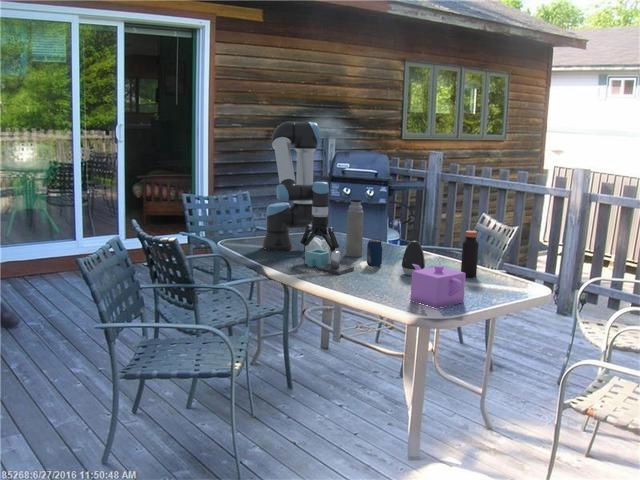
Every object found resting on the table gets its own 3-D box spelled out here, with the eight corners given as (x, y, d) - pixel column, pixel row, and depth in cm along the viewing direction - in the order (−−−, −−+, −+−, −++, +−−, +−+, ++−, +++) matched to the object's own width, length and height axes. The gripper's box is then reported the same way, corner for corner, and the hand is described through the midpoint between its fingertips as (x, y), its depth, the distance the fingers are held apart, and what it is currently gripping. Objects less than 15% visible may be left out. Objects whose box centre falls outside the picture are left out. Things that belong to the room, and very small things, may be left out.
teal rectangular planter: (317, 268, 294) (317, 255, 293) (301, 265, 299) (302, 252, 298) (335, 263, 305) (335, 250, 304) (320, 260, 311) (320, 248, 309)
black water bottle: (478, 277, 283) (481, 232, 280) (463, 278, 282) (467, 232, 278) (472, 274, 290) (475, 230, 286) (458, 274, 289) (461, 230, 285)
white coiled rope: (301, 257, 316) (301, 239, 314) (310, 253, 327) (311, 235, 325) (322, 260, 312) (323, 241, 310) (331, 255, 322) (332, 237, 321)
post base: (316, 270, 290) (316, 252, 288) (332, 266, 299) (332, 248, 297) (338, 274, 283) (339, 255, 281) (353, 270, 292) (354, 251, 290)
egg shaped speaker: (426, 273, 290) (428, 239, 287) (422, 278, 280) (424, 243, 277) (403, 270, 293) (405, 237, 290) (398, 275, 284) (400, 241, 281)
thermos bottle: (346, 253, 328) (348, 198, 323) (362, 253, 327) (364, 198, 322) (345, 256, 320) (347, 200, 315) (361, 257, 320) (363, 200, 314)
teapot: (424, 291, 260) (426, 256, 257) (473, 306, 241) (476, 269, 238) (396, 296, 251) (398, 261, 248) (446, 312, 231) (448, 274, 229)
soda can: (383, 265, 304) (384, 239, 301) (378, 268, 297) (379, 242, 295) (369, 263, 306) (370, 238, 304) (364, 266, 300) (365, 240, 298)
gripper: (293, 214, 302) (293, 258, 306) (337, 219, 288) (336, 265, 291) (303, 212, 308) (302, 256, 312) (347, 217, 294) (345, 263, 297)
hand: (319, 261), depth 302 cm, fingers open, 13 cm apart
